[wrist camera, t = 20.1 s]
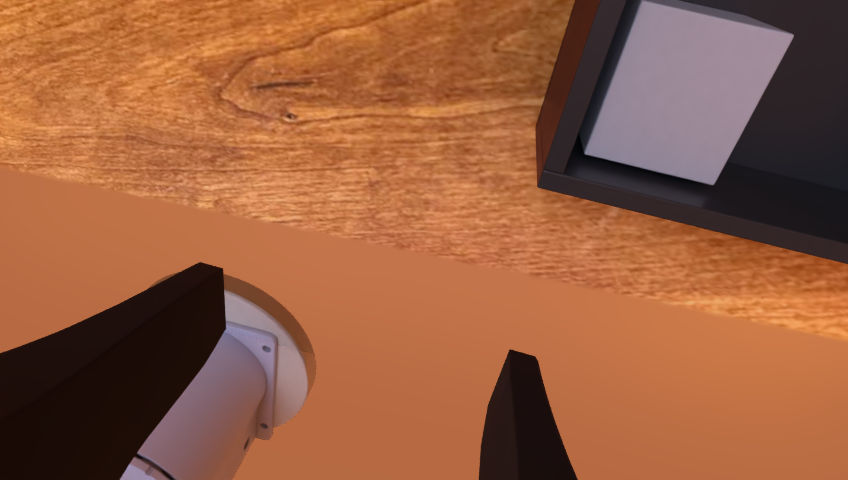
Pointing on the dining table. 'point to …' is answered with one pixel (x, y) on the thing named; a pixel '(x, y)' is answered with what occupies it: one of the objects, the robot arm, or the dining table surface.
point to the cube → (679, 87)
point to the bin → (755, 149)
